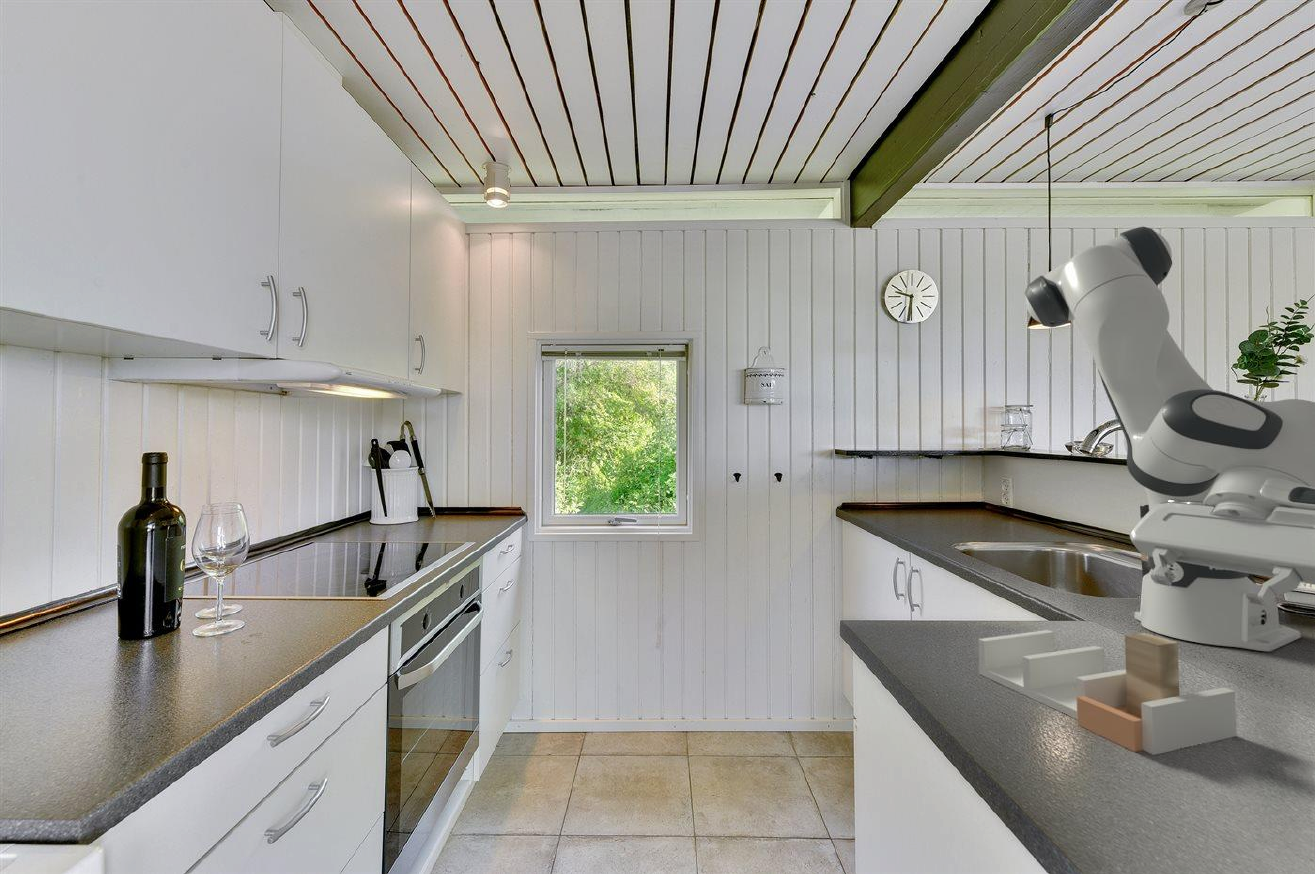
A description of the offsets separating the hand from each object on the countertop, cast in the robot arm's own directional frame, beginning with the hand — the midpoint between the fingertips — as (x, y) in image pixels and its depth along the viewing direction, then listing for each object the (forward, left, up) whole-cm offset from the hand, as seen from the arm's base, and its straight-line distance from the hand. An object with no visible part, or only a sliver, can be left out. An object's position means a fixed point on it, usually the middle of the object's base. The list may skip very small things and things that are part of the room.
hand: (1204, 591), depth 66 cm
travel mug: (-50, -35, -15) cm, 63 cm away
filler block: (+9, 0, -14) cm, 17 cm away
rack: (+9, -7, -15) cm, 19 cm away
